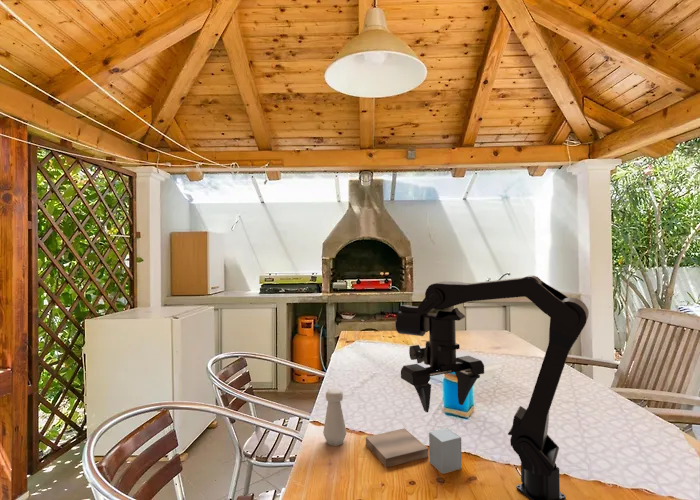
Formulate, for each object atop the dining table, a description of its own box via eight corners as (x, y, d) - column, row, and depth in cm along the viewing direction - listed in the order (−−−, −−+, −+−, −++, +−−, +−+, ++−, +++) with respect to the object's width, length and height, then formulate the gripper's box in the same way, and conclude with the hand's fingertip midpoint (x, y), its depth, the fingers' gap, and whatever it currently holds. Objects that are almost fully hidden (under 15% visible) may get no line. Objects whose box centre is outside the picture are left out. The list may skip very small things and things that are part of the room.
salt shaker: (343, 448, 98) (342, 395, 98) (321, 446, 99) (320, 394, 99) (348, 437, 103) (347, 387, 103) (327, 435, 105) (326, 386, 104)
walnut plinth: (428, 456, 93) (428, 448, 93) (386, 467, 89) (386, 458, 89) (404, 436, 104) (404, 428, 103) (365, 444, 99) (365, 436, 99)
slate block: (461, 468, 88) (461, 437, 88) (442, 474, 86) (442, 441, 86) (448, 457, 93) (447, 427, 93) (429, 462, 91) (429, 431, 91)
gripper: (454, 327, 100) (455, 389, 101) (388, 335, 93) (389, 402, 93) (485, 336, 90) (486, 405, 90) (413, 346, 83) (415, 421, 83)
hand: (443, 408), depth 90 cm, fingers open, 9 cm apart
